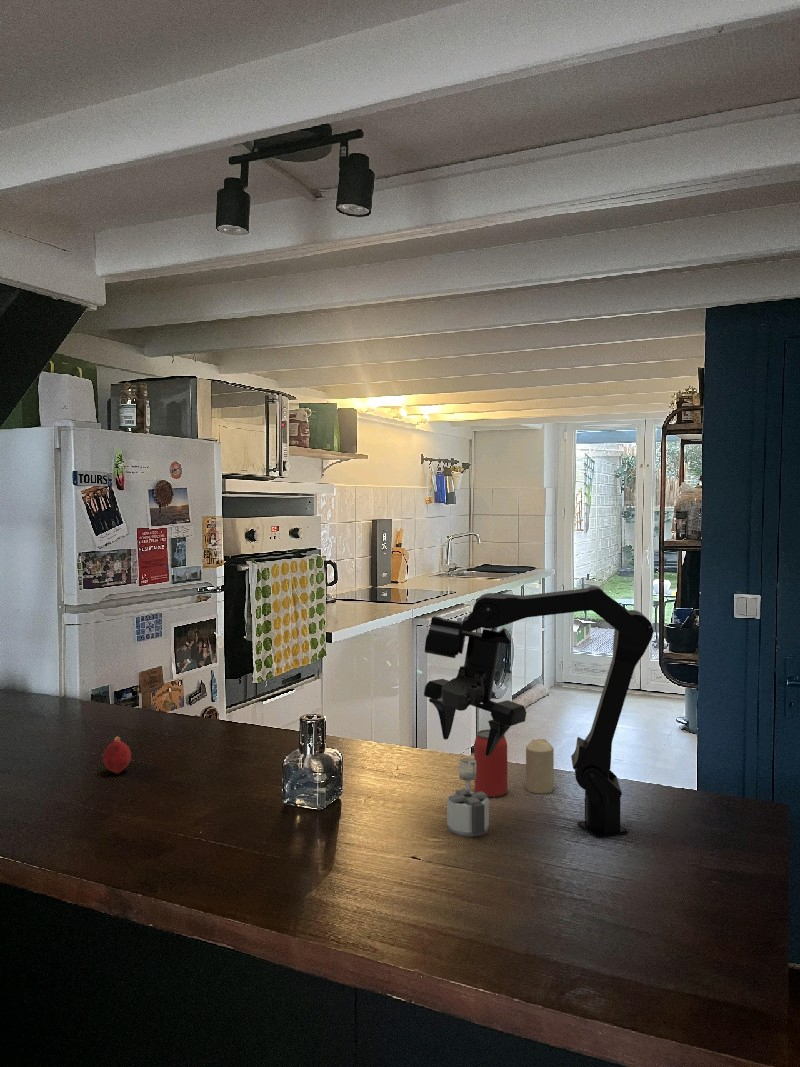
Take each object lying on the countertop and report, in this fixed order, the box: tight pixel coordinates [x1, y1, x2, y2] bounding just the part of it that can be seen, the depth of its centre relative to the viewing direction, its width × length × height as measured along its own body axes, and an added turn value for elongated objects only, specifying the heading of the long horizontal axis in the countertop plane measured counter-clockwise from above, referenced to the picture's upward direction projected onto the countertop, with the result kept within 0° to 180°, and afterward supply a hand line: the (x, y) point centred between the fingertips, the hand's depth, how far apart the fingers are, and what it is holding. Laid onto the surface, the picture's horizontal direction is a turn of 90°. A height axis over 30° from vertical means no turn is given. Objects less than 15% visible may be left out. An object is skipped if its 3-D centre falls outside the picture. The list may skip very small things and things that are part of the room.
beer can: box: [473, 729, 508, 798], centre depth 164 cm, size 7×7×12 cm
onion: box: [102, 736, 132, 775], centre depth 178 cm, size 6×6×8 cm
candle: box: [525, 738, 555, 795], centre depth 166 cm, size 6×6×10 cm
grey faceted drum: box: [446, 788, 490, 838], centre depth 146 cm, size 8×7×6 cm
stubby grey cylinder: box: [457, 758, 481, 805], centre depth 146 cm, size 5×5×8 cm
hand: (466, 747), depth 149 cm, fingers open, 9 cm apart
